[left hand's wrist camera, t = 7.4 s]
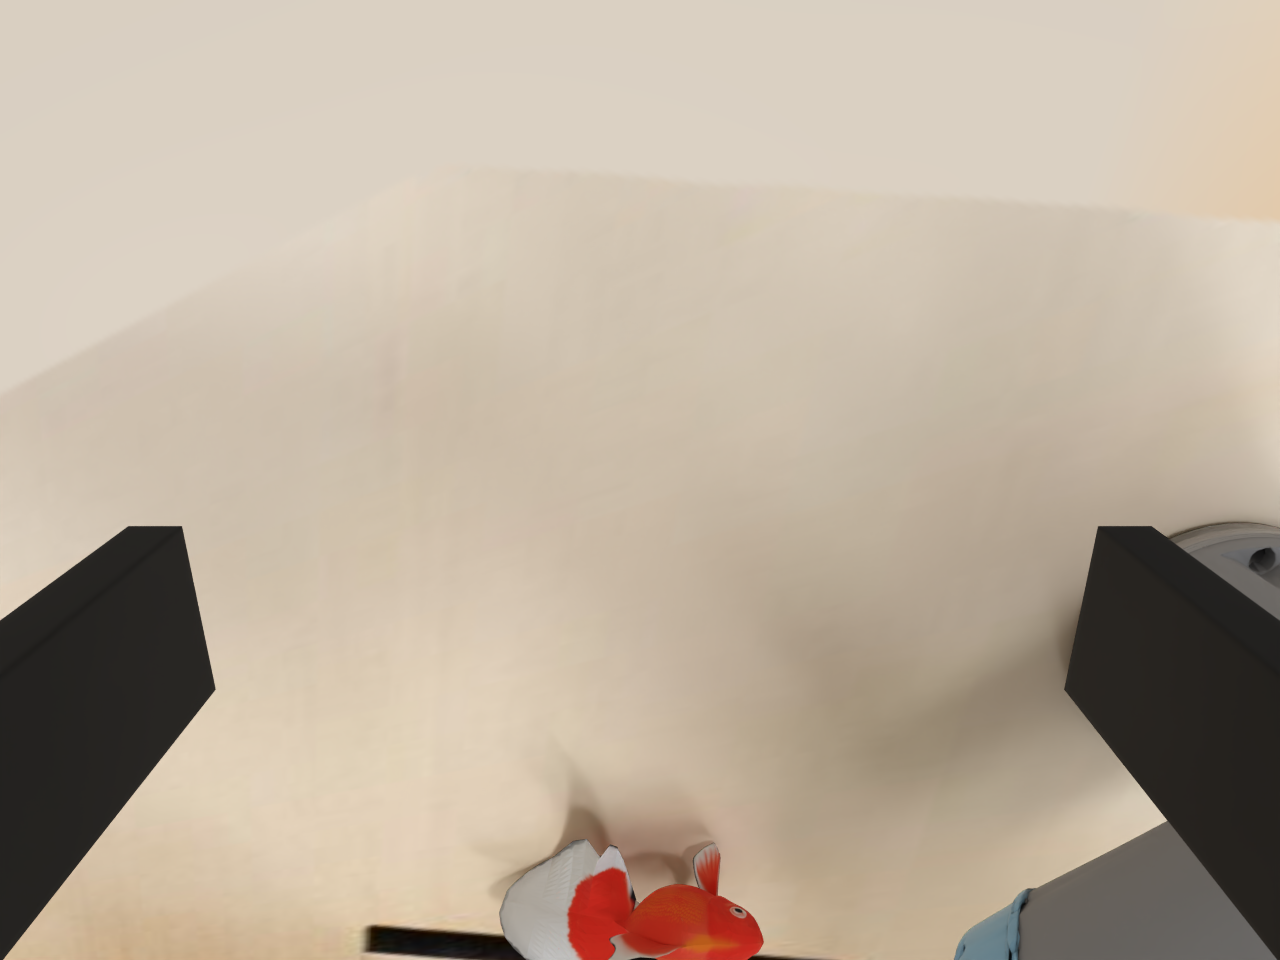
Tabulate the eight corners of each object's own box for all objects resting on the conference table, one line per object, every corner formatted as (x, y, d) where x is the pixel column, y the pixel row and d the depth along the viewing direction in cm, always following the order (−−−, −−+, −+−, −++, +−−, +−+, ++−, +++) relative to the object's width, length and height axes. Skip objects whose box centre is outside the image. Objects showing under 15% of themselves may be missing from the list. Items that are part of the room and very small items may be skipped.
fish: (736, 1033, 54) (693, 1133, 45) (525, 915, 59) (447, 982, 50) (791, 872, 54) (759, 938, 44) (574, 768, 59) (504, 807, 50)
